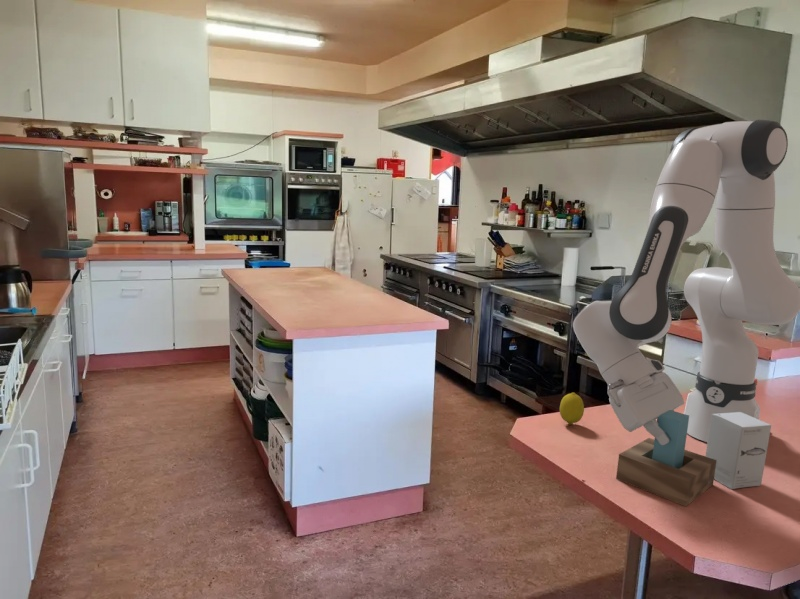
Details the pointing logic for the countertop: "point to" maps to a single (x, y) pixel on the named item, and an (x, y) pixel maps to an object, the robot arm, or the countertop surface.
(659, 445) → the blue square pillar
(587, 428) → the countertop surface
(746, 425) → the supplement box
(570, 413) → the lemon
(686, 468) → the well block
